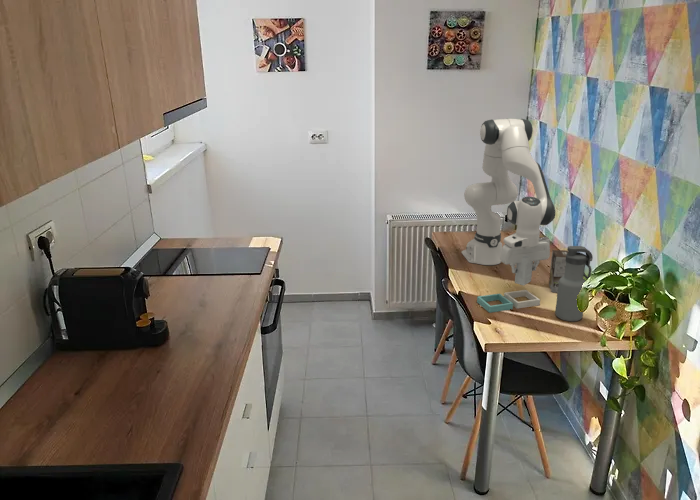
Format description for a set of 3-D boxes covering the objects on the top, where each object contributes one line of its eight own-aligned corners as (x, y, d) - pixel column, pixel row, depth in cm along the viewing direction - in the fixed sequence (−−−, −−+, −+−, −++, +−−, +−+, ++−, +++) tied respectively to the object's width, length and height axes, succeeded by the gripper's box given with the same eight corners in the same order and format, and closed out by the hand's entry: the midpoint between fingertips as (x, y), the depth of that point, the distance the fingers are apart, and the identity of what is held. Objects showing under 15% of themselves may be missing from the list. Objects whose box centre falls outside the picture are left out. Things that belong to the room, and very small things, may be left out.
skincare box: (521, 278, 220) (524, 251, 216) (531, 281, 217) (534, 253, 213) (513, 283, 216) (516, 255, 212) (523, 286, 213) (526, 257, 209)
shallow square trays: (476, 302, 220) (477, 296, 219) (525, 295, 225) (525, 289, 224) (489, 312, 211) (489, 306, 210) (539, 305, 216) (540, 299, 215)
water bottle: (577, 310, 211) (586, 243, 202) (587, 322, 202) (597, 251, 192) (551, 310, 211) (559, 243, 202) (560, 322, 202) (568, 252, 192)
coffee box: (567, 293, 226) (571, 257, 221) (551, 292, 228) (555, 256, 222) (563, 284, 235) (568, 250, 229) (548, 284, 236) (552, 249, 231)
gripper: (545, 233, 216) (541, 265, 221) (499, 239, 211) (497, 271, 216) (555, 238, 210) (551, 271, 215) (508, 244, 205) (505, 277, 210)
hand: (523, 271), depth 215 cm, fingers closed on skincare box, 7 cm apart
